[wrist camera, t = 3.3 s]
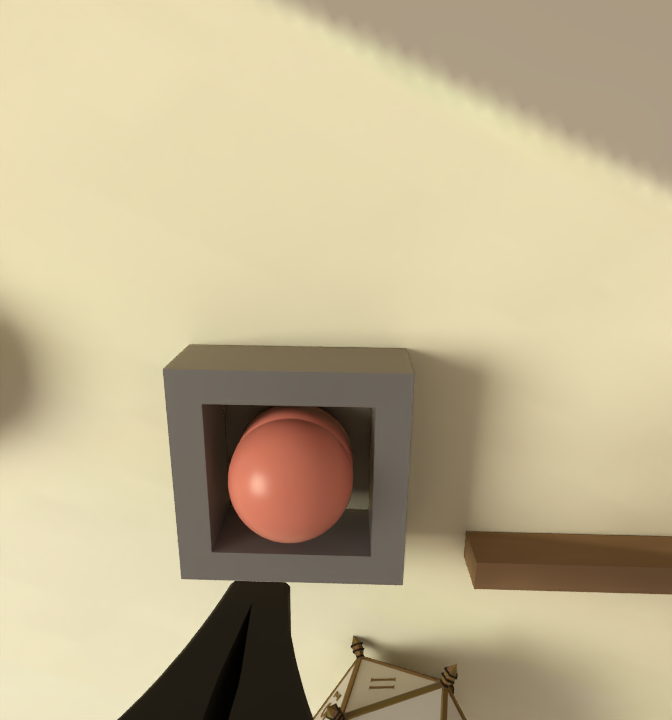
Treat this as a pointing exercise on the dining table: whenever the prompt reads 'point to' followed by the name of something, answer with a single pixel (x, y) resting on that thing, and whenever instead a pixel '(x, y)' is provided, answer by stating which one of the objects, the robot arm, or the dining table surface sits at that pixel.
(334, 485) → the salmon ball
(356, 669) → the game die
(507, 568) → the brown wooden u shape
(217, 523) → the dome housing
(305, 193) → the dining table surface
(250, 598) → the robot arm
